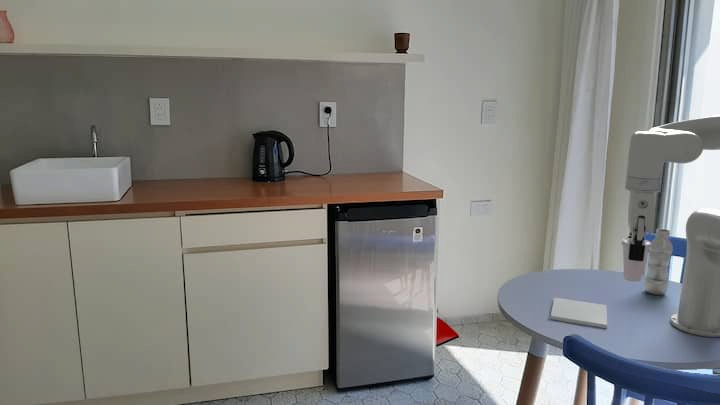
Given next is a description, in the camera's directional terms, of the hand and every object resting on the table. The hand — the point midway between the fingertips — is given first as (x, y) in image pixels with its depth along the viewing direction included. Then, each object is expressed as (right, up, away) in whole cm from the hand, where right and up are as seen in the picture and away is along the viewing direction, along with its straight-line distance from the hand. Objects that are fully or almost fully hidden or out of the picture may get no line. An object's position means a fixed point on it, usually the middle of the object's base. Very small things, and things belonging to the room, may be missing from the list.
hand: (634, 255), depth 130 cm
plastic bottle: (+23, -15, +33) cm, 43 cm away
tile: (-6, -18, +18) cm, 26 cm away
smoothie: (0, -6, +1) cm, 6 cm away
